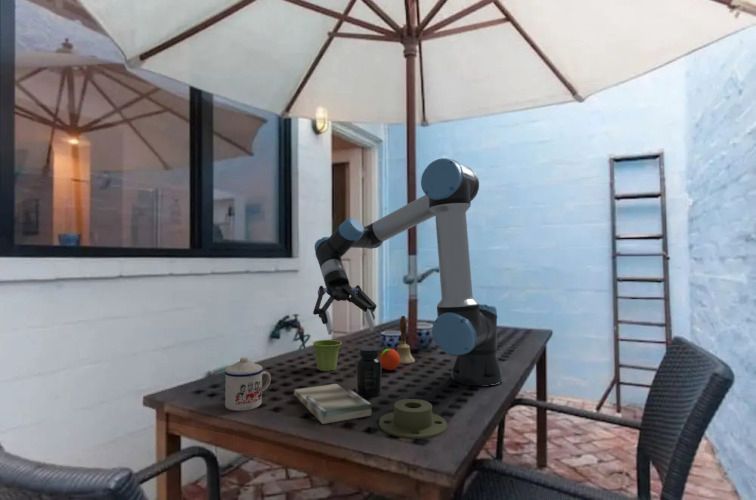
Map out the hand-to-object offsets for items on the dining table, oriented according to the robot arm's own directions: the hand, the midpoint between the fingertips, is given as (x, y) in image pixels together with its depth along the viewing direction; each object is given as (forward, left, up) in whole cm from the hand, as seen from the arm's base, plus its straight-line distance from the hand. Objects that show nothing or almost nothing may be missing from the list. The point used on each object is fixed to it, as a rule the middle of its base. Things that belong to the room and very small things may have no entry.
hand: (352, 330), depth 127 cm
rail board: (-5, +19, -15) cm, 25 cm away
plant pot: (+15, -9, -15) cm, 23 cm away
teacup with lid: (+13, +28, -15) cm, 35 cm away
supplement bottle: (-9, +6, -15) cm, 19 cm away
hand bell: (-2, -32, -16) cm, 35 cm away
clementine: (-3, -18, -15) cm, 24 cm away
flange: (-28, +20, -16) cm, 38 cm away
